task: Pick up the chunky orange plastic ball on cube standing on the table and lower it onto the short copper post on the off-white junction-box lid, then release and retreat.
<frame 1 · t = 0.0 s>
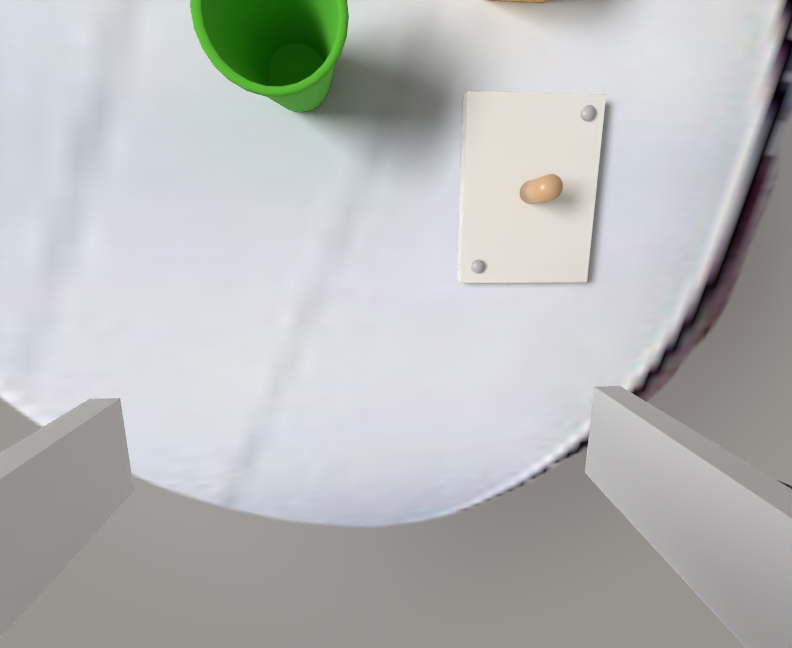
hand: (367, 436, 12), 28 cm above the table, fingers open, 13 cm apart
cup: (299, 80, 35), on the table
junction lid: (524, 193, 38), on the table
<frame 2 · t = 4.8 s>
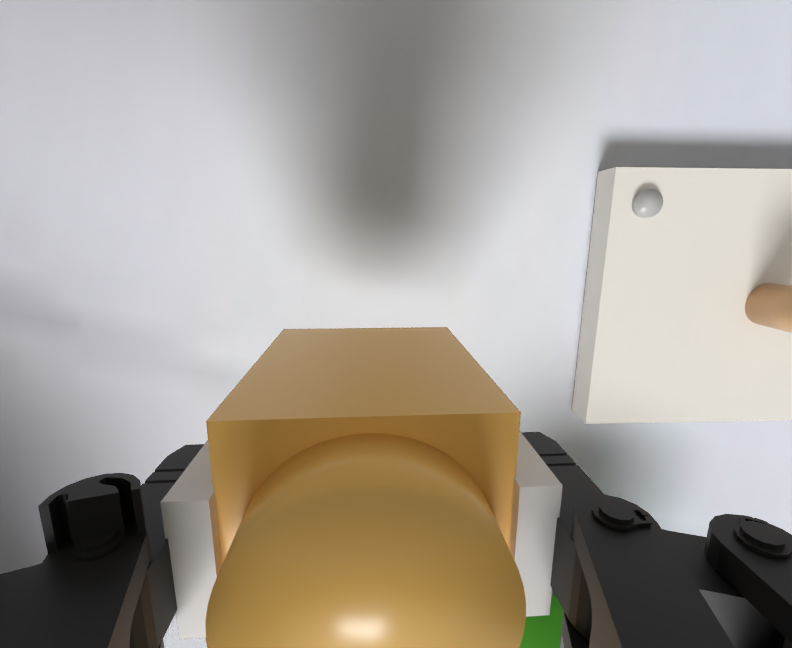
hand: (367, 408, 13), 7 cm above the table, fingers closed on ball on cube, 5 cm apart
ball on cube: (367, 404, 14), point 7 cm above the table, touching gripper
cup: (530, 620, 25), on the table
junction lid: (738, 298, 21), on the table
when the fingers open (2 cm above the table, at t = 8.7 s): ball on cube stays where it is, resting on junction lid.
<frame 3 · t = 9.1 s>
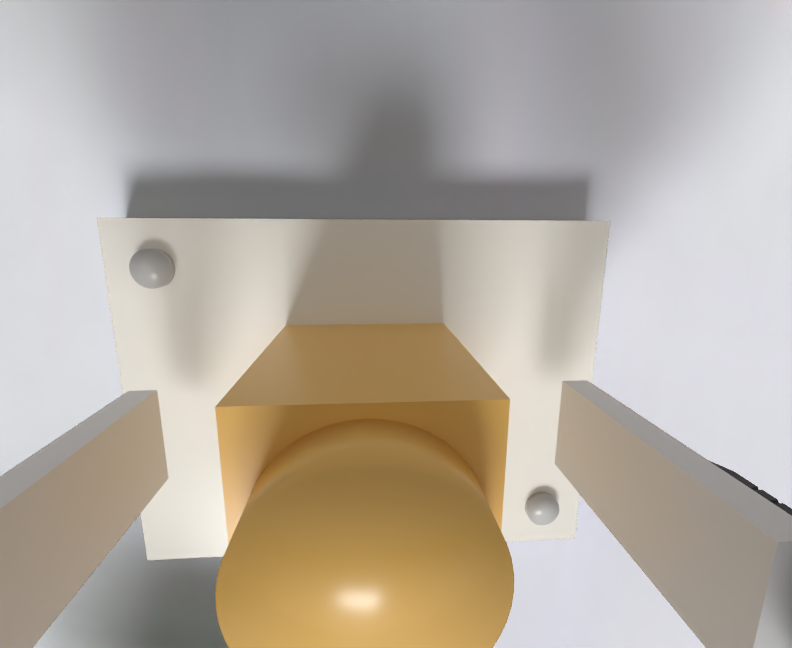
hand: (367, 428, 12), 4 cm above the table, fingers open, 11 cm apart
ball on cube: (366, 397, 14), point 1 cm above the table, touching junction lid
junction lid: (367, 383, 16), on the table
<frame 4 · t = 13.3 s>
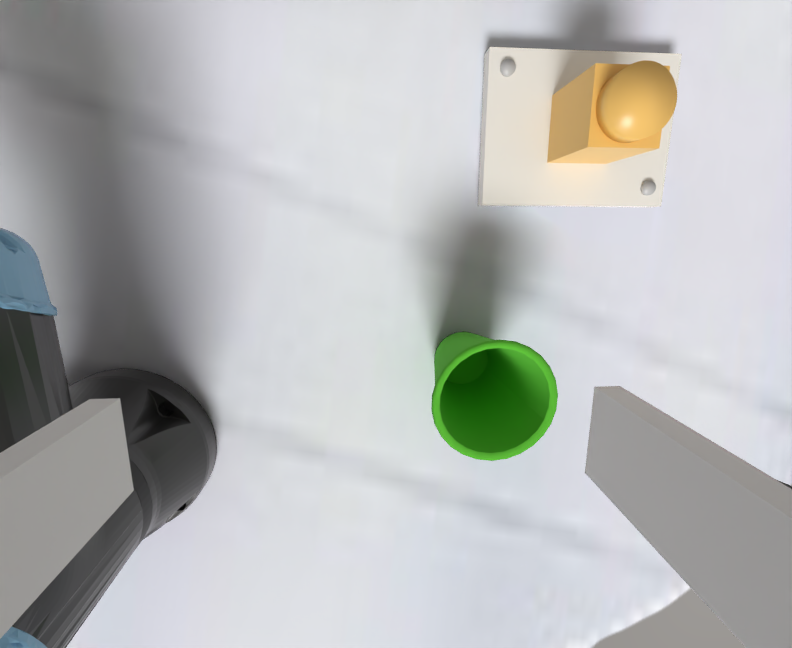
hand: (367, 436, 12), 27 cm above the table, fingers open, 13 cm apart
ball on cube: (579, 130, 34), point 1 cm above the table, touching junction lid
cup: (460, 356, 40), on the table
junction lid: (571, 135, 36), on the table
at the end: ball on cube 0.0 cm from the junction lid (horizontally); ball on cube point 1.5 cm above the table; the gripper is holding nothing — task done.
